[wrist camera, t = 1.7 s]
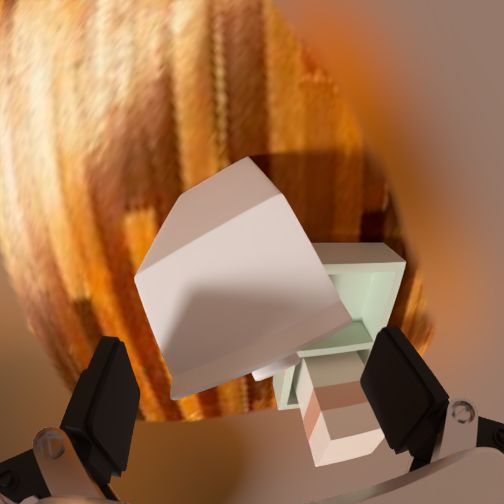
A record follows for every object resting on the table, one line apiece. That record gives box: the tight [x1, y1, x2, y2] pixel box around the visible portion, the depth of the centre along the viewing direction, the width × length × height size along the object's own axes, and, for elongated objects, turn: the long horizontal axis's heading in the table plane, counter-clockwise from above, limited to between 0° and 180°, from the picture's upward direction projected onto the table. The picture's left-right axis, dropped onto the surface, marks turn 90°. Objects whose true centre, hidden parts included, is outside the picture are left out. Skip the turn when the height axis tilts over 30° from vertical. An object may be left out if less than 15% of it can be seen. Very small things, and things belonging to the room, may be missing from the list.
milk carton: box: [134, 157, 353, 400], centre depth 18 cm, size 7×7×19 cm
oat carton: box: [292, 351, 385, 467], centre depth 28 cm, size 7×7×14 cm
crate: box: [273, 243, 406, 410], centre depth 31 cm, size 21×11×5 cm, turn 178°
